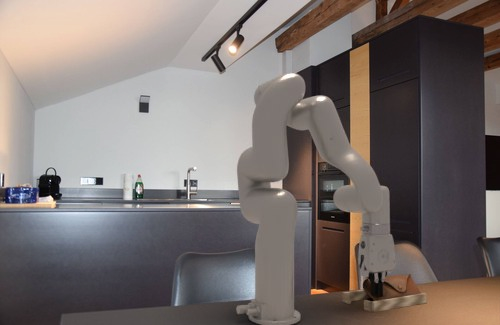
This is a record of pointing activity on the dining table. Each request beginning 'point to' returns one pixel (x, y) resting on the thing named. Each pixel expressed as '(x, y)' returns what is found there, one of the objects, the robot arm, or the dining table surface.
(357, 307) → the dining table surface
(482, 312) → the dining table surface
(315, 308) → the dining table surface
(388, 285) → the sunglasses case
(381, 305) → the wooden pieces
